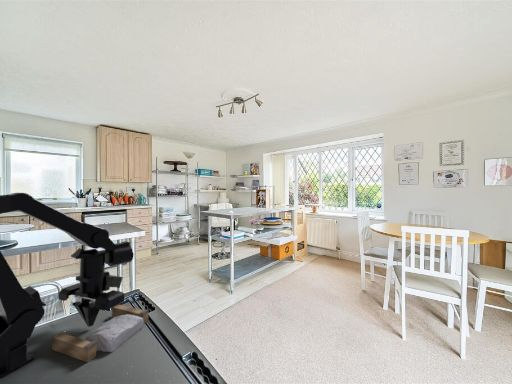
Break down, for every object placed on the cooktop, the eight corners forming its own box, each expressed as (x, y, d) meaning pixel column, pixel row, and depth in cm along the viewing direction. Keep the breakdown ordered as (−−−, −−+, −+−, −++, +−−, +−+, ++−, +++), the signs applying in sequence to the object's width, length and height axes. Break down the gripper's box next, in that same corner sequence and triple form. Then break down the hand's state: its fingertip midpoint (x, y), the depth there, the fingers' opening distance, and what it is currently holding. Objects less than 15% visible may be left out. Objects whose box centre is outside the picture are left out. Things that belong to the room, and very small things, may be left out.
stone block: (79, 356, 56) (113, 354, 54) (78, 336, 56) (111, 333, 54) (118, 330, 67) (147, 328, 65) (116, 313, 68) (145, 311, 66)
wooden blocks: (51, 349, 55) (52, 335, 55) (117, 313, 72) (118, 302, 72) (87, 362, 51) (87, 347, 51) (148, 321, 68) (148, 310, 68)
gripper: (140, 266, 68) (139, 317, 68) (96, 259, 74) (94, 306, 74) (106, 279, 58) (104, 339, 58) (58, 270, 64) (55, 325, 63)
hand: (90, 325), depth 63 cm, fingers closed
